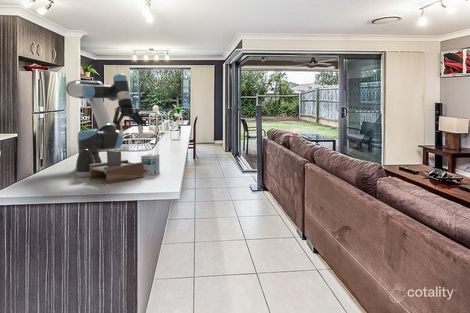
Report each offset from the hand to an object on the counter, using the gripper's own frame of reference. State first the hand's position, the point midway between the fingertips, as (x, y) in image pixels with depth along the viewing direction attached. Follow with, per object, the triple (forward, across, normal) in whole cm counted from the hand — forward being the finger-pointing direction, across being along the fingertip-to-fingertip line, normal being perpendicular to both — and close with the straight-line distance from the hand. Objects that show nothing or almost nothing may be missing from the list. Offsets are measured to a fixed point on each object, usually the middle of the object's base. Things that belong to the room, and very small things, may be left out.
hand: (132, 136), depth 218 cm
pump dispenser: (+18, -21, +18) cm, 33 cm away
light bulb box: (+22, +8, 0) cm, 24 cm away
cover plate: (+18, -16, -1) cm, 24 cm away
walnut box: (+24, -14, +1) cm, 28 cm away
